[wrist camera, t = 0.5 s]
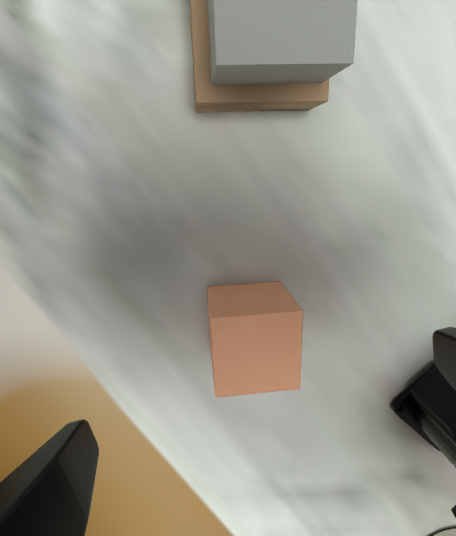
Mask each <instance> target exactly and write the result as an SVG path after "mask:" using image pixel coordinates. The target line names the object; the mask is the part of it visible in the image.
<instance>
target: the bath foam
mask: <svg viewBox="0 0 456 536" xmlns="http://www.w3.org/2000/svg"><path fill="white" fill-rule="evenodd" d="M433 536H456V529H449V530H445V531H442V532H439V533H437V534H435V535H433Z"/></svg>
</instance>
